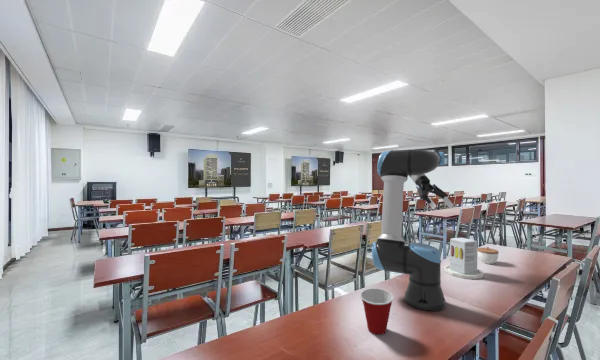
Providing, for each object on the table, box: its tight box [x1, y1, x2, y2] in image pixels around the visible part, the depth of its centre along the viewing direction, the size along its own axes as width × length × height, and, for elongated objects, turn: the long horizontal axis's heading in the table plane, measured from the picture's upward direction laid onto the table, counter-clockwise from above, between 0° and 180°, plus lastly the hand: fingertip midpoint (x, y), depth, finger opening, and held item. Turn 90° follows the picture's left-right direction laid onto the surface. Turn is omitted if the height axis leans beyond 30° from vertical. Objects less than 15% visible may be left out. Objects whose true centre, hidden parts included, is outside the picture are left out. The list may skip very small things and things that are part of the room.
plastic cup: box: [359, 287, 395, 335], centre depth 91 cm, size 11×11×12 cm
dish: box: [443, 264, 485, 280], centre depth 147 cm, size 18×18×2 cm
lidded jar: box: [477, 246, 499, 265], centre depth 166 cm, size 11×11×9 cm
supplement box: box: [449, 237, 479, 274], centre depth 147 cm, size 10×9×17 cm
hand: (443, 207), depth 148 cm, fingers open, 13 cm apart
